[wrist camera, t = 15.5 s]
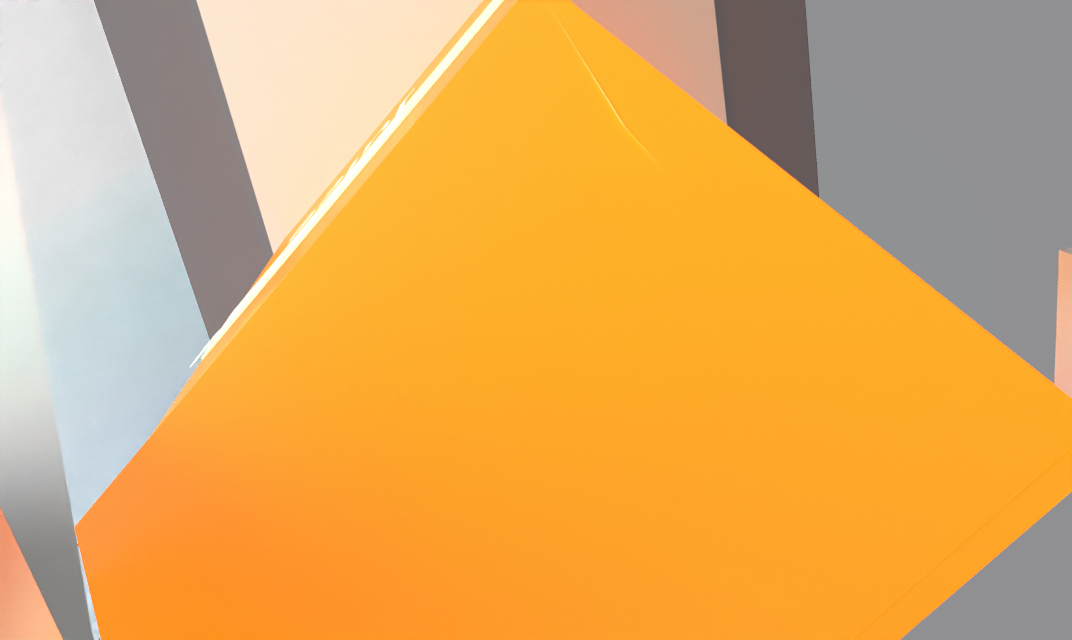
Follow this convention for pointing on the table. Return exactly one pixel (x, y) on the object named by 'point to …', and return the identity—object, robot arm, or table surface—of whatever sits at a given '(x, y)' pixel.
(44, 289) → the table surface
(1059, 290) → the robot arm
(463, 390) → the orange juice
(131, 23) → the picture frame
